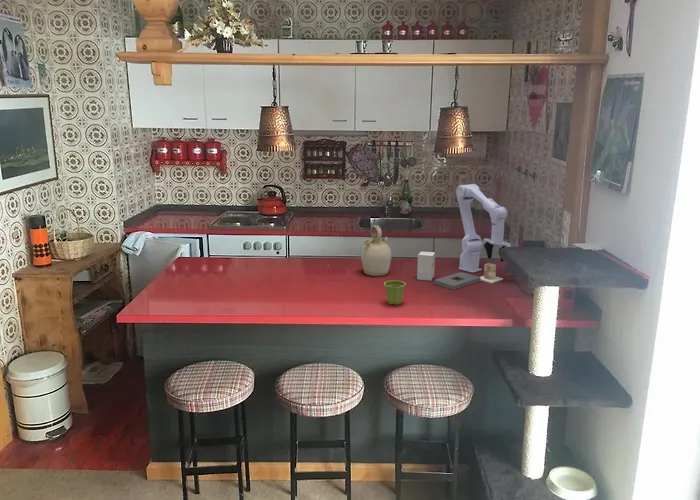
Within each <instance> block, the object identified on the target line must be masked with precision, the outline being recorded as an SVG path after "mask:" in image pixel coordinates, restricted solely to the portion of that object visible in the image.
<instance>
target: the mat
mask: <svg viewBox="0 0 700 500" xmlns="http://www.w3.org/2000/svg"><path fill="white" fill-rule="evenodd" d="M480 277H481V280H480V281H481V282H485V283H489V284H494V283H496V282H497V283H498V282H500V281H503V280H504V278H503V277H499V276H496V278H495V279H492V280H489V279H485V278H484V275H482V276H480Z"/></svg>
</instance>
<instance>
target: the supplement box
mask: <svg viewBox="0 0 700 500" xmlns="http://www.w3.org/2000/svg"><path fill="white" fill-rule="evenodd" d="M435 258H436V253H435V252H434V251H420V252H418V254H417V268H416V269H417V272H416V273H417V274H416V279H417V280H419V281H429V282H431V281H432V280H433V278H434V277H435V263H436V262H435V261H436V259H435Z"/></svg>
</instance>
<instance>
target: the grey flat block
mask: <svg viewBox="0 0 700 500" xmlns="http://www.w3.org/2000/svg"><path fill="white" fill-rule="evenodd" d="M481 281H482V280H481V276H477V275H473V274H470V273H467V272H462V271H460V272H455V273H453V274H450V275H446V276H443V277H440V278H436V279H434V280H433V284H434V285H436V286H440V287H442V288H445V289H448V290H452V291H455V290H458V289H461V288H464V287H467V286H470V285H474V284H477V283H480V282H481Z"/></svg>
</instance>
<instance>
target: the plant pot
mask: <svg viewBox="0 0 700 500" xmlns="http://www.w3.org/2000/svg"><path fill="white" fill-rule="evenodd" d="M383 286H384V289H385V292H386V300H387V304H388V305H400V304H402V302H403V297H404V296H403V295H404V289H405V286H406V282H405V281H401V280H386V281H384V282H383Z"/></svg>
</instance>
